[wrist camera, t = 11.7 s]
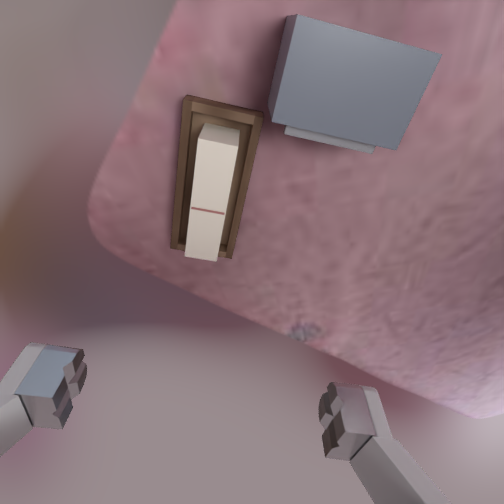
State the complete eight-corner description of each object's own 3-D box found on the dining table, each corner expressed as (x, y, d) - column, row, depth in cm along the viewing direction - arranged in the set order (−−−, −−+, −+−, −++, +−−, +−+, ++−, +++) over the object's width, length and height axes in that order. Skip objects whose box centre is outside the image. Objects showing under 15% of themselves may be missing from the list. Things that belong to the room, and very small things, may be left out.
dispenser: (402, 47, 25) (442, 54, 20) (365, 136, 29) (390, 161, 23) (287, 15, 23) (297, 14, 18) (265, 112, 27) (268, 133, 22)
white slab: (239, 130, 28) (238, 147, 24) (220, 235, 34) (216, 261, 30) (205, 122, 27) (198, 138, 24) (191, 230, 33) (184, 256, 30)
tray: (262, 112, 27) (263, 117, 26) (232, 247, 36) (231, 258, 34) (187, 94, 26) (183, 99, 25) (174, 237, 35) (170, 248, 33)
